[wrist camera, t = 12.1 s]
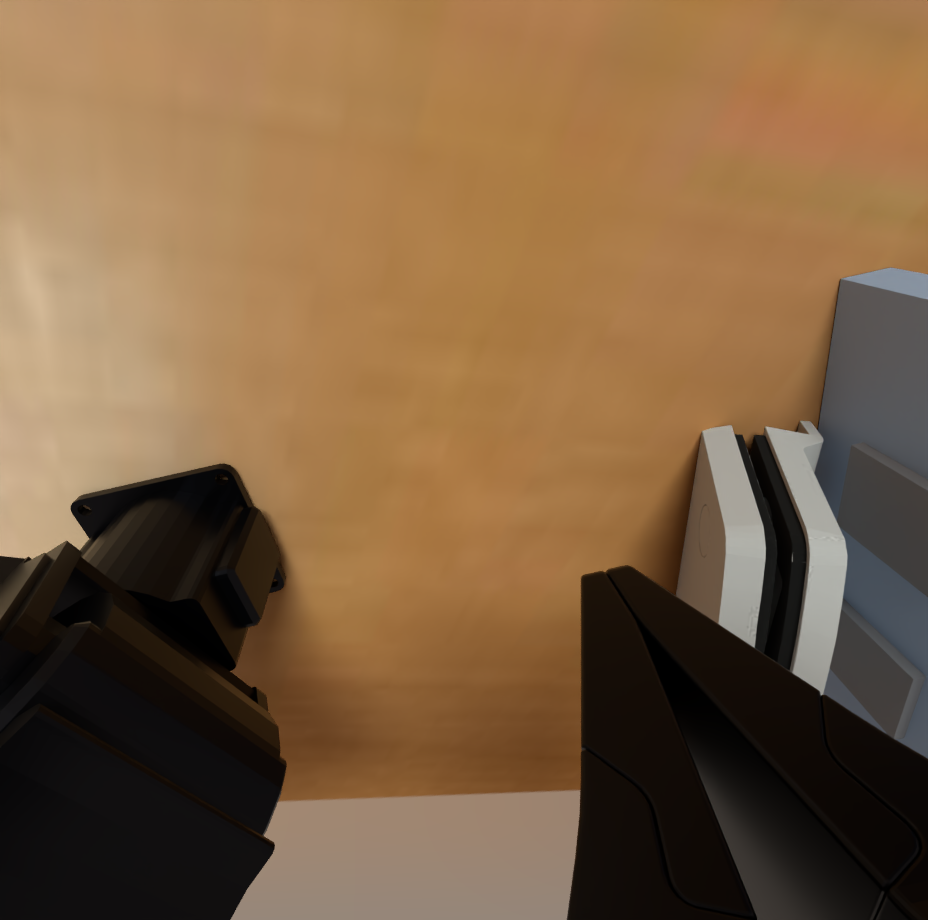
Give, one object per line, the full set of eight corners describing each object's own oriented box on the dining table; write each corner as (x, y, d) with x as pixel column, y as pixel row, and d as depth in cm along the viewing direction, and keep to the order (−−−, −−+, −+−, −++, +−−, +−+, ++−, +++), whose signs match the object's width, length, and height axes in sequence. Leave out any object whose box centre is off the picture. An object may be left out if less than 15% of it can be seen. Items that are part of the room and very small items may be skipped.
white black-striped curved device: (744, 672, 31) (793, 862, 23) (659, 661, 33) (677, 838, 24) (813, 412, 23) (929, 559, 15) (697, 410, 24) (744, 544, 16)
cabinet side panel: (774, 661, 31) (922, 851, 23) (828, 281, 21) (1148, 362, 12) (815, 652, 31) (979, 838, 23) (891, 267, 21) (1256, 337, 12)
